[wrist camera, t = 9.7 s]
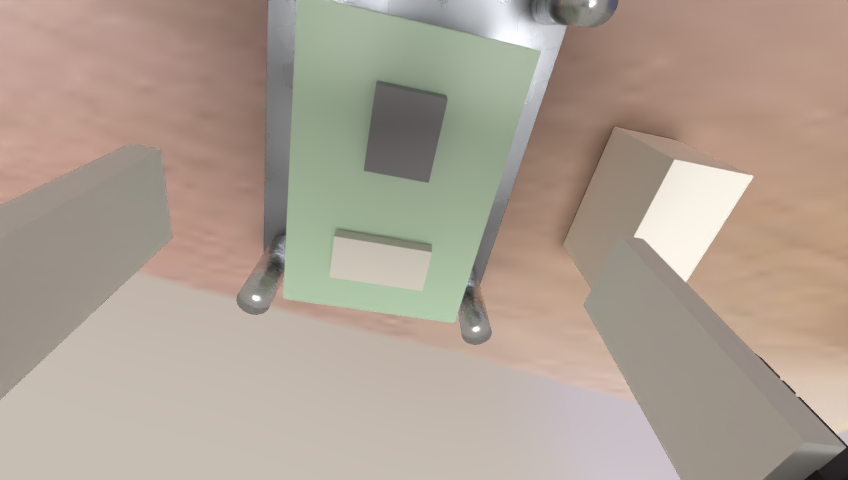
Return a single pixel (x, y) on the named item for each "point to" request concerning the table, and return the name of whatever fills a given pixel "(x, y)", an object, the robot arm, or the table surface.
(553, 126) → the table surface
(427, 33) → the board
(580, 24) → the chassis
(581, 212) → the block
